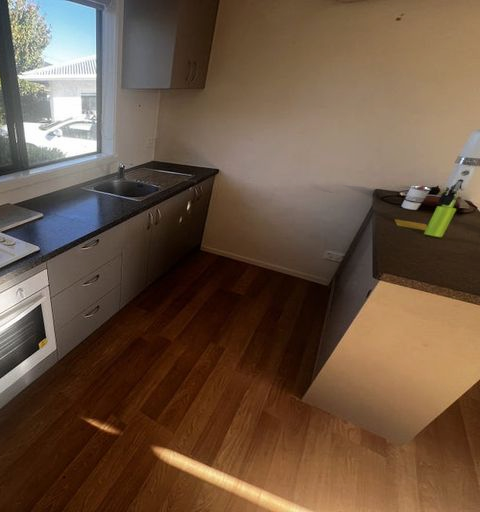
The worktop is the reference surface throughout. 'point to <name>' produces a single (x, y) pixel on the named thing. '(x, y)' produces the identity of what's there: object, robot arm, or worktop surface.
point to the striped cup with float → (415, 197)
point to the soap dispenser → (440, 219)
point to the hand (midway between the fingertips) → (443, 203)
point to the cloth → (411, 224)
